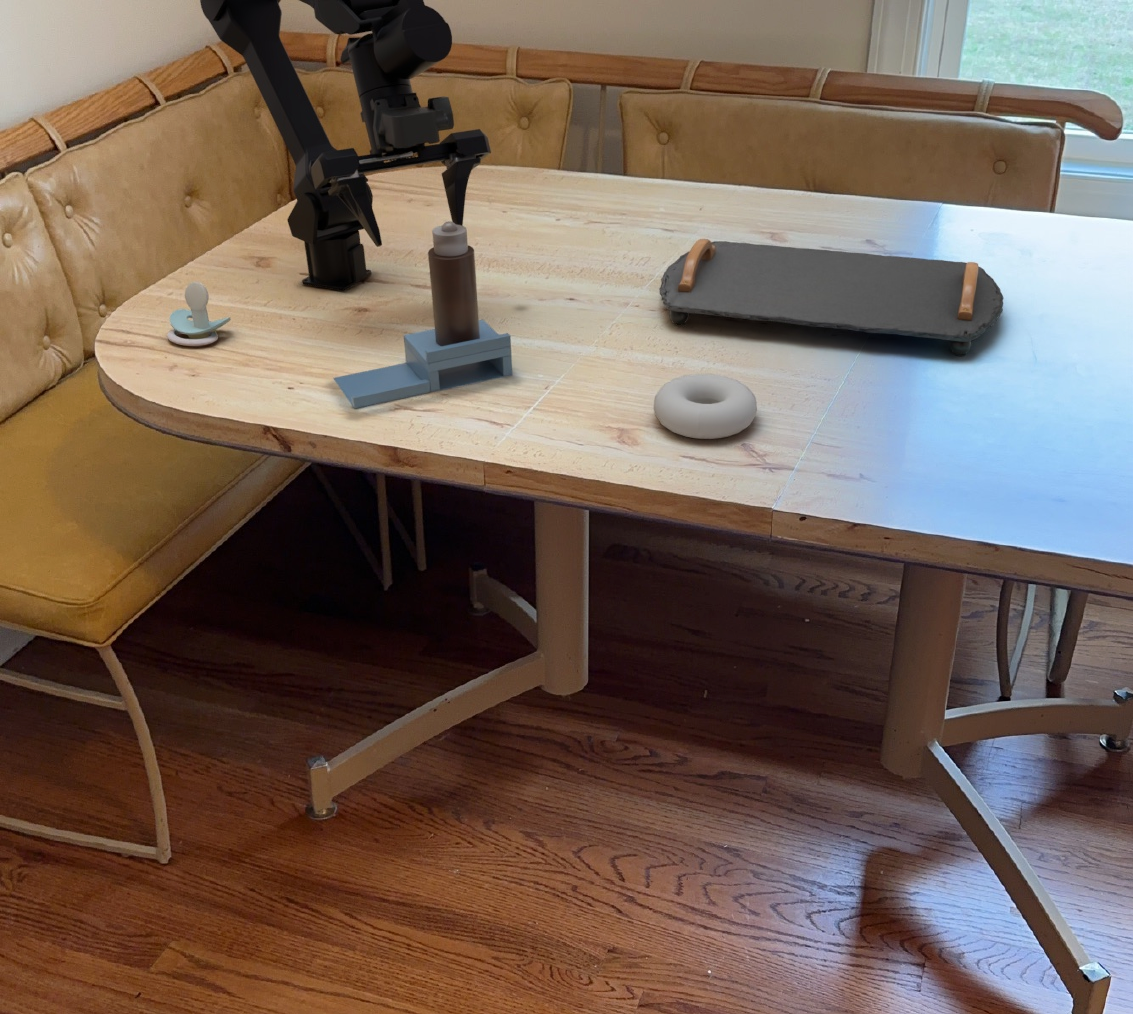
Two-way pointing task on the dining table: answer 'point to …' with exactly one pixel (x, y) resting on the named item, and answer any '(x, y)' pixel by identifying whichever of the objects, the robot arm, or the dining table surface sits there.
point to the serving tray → (834, 290)
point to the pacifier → (194, 319)
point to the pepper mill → (453, 285)
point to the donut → (705, 406)
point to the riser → (431, 368)
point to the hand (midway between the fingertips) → (419, 238)
